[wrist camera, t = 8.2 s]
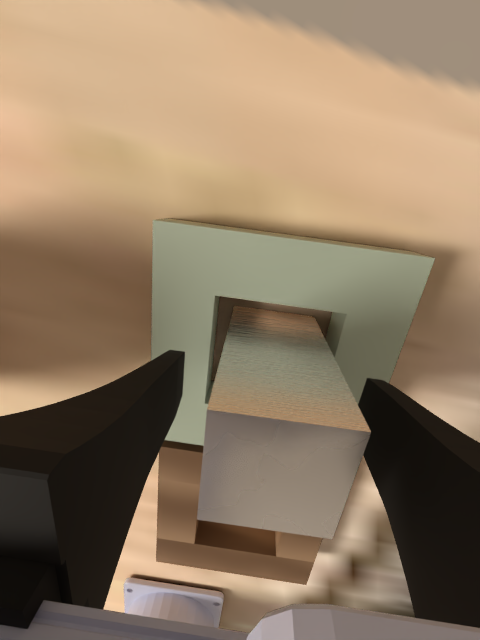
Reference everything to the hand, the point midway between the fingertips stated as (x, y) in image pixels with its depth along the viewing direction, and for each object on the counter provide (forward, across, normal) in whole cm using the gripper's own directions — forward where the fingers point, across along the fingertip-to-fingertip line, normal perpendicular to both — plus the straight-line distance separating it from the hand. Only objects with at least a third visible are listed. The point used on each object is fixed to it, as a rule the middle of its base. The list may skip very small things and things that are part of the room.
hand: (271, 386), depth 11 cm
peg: (+4, 0, 0) cm, 4 cm away
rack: (+4, 0, 0) cm, 4 cm away
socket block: (+4, 0, +11) cm, 12 cm away
